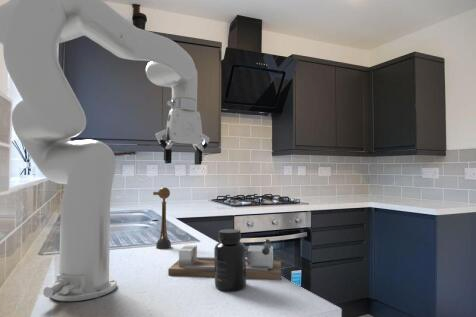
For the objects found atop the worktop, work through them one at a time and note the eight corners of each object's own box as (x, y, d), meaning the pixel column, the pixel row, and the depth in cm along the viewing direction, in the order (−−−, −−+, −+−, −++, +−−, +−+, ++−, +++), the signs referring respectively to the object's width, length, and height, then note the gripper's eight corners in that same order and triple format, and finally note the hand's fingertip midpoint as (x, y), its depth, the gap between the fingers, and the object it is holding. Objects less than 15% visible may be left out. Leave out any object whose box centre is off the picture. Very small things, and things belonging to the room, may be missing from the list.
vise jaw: (272, 271, 74) (272, 248, 74) (246, 270, 75) (246, 247, 75) (273, 259, 85) (272, 238, 85) (250, 258, 85) (250, 238, 86)
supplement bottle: (230, 279, 74) (230, 227, 75) (252, 286, 69) (252, 230, 70) (207, 286, 69) (208, 230, 70) (229, 295, 65) (229, 234, 65)
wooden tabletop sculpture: (151, 249, 104) (152, 187, 105) (154, 246, 109) (154, 187, 110) (170, 248, 105) (170, 187, 106) (171, 245, 109) (172, 186, 110)
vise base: (281, 279, 74) (280, 255, 74) (168, 275, 77) (168, 252, 78) (280, 267, 84) (280, 245, 84) (180, 263, 87) (180, 243, 88)
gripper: (161, 100, 88) (160, 162, 87) (215, 108, 98) (214, 164, 97) (151, 105, 94) (150, 163, 93) (203, 112, 104) (202, 165, 103)
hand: (183, 163), depth 95 cm, fingers open, 9 cm apart
